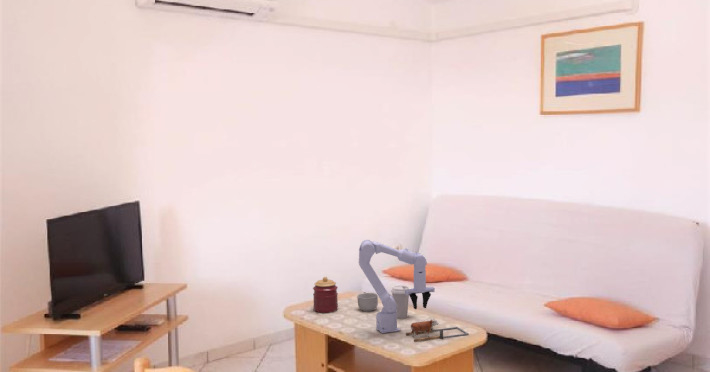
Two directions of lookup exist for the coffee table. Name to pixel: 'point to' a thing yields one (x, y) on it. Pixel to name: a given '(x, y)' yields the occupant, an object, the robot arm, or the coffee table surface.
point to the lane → (453, 335)
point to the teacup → (367, 301)
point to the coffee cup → (401, 300)
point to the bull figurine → (423, 327)
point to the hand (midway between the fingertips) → (419, 308)
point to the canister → (325, 296)
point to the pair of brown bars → (427, 337)
